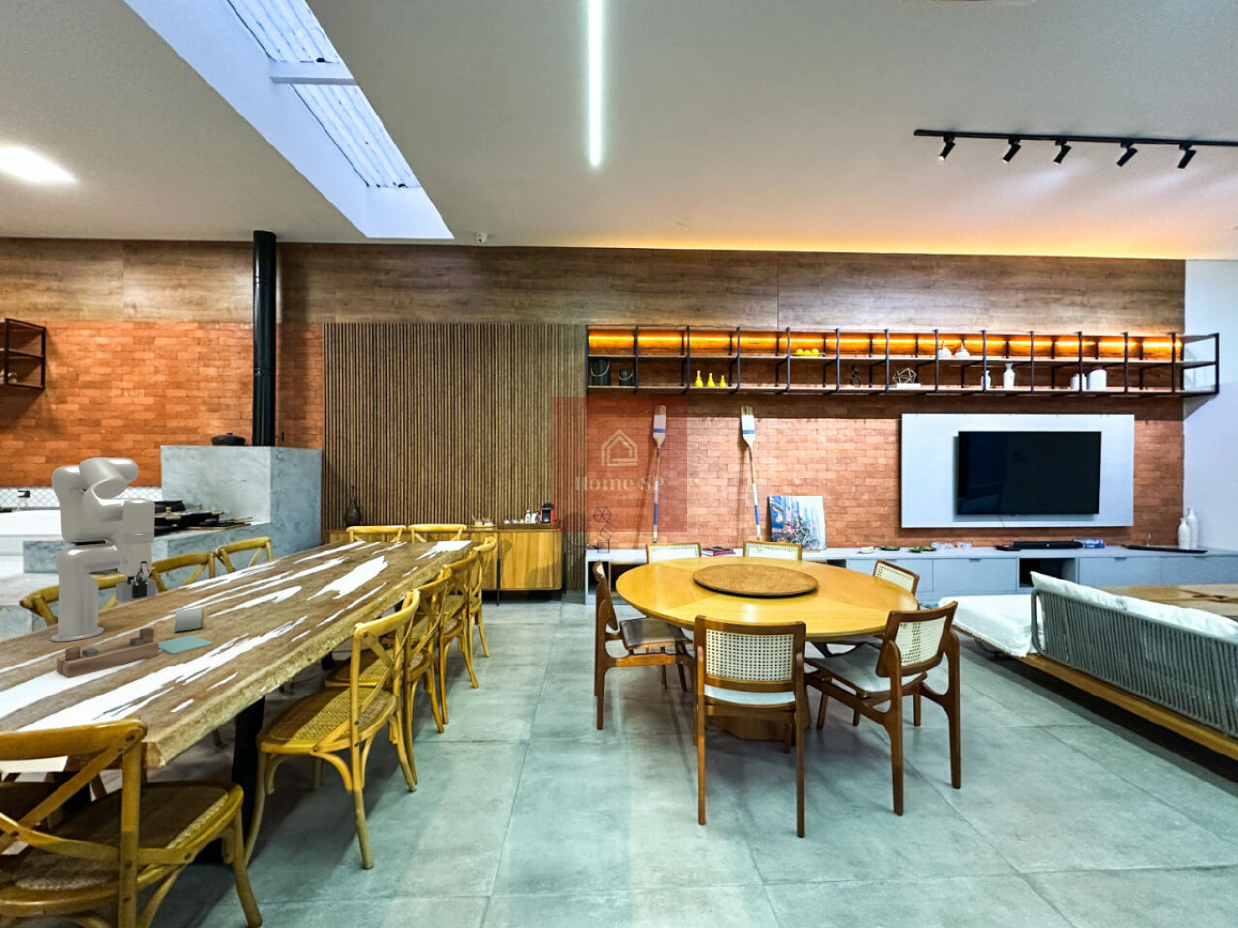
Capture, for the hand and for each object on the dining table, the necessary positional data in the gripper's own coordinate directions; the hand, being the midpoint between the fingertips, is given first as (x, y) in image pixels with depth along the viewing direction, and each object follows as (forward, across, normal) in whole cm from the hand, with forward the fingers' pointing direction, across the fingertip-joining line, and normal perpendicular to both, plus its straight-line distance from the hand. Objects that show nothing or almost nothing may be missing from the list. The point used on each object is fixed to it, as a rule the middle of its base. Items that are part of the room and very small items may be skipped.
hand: (136, 595), depth 159 cm
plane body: (+19, 0, -6) cm, 20 cm away
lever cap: (+1, 0, 0) cm, 1 cm away
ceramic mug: (+20, -20, +21) cm, 35 cm away
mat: (+19, 0, +12) cm, 23 cm away
